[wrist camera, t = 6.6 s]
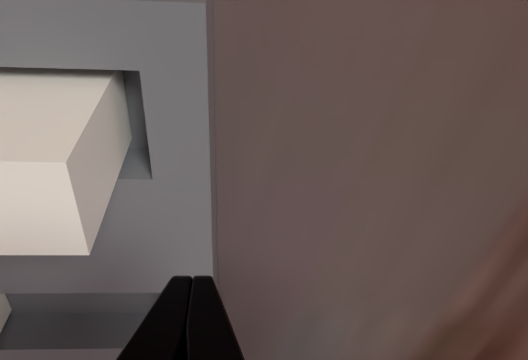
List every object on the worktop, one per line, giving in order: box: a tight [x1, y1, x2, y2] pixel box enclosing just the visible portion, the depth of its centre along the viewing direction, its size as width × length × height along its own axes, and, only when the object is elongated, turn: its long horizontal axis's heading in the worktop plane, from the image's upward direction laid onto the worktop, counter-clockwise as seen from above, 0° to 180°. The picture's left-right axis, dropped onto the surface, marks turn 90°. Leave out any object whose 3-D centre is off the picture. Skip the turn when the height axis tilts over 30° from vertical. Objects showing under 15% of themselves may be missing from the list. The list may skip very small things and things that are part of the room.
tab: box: [0, 67, 132, 255], centre depth 14 cm, size 4×3×6 cm
